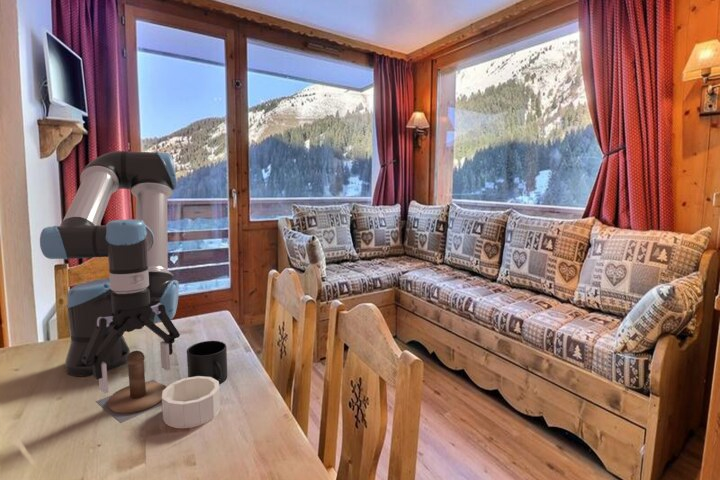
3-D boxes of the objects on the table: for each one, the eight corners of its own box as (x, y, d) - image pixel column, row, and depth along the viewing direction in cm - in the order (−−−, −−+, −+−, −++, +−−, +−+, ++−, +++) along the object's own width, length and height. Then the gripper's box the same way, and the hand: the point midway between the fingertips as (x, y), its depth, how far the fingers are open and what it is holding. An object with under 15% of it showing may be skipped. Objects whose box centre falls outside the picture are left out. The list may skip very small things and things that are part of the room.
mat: (96, 403, 92) (95, 401, 92) (153, 381, 102) (153, 379, 102) (120, 425, 84) (120, 422, 84) (180, 399, 95) (179, 396, 94)
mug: (202, 399, 95) (200, 363, 93) (182, 380, 103) (180, 347, 102) (239, 385, 101) (237, 351, 100) (217, 368, 110) (216, 337, 108)
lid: (99, 401, 92) (94, 352, 90) (152, 380, 102) (149, 336, 100) (122, 420, 85) (117, 368, 83) (176, 397, 94) (174, 349, 93)
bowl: (153, 416, 88) (151, 391, 87) (201, 394, 97) (200, 371, 96) (181, 437, 81) (180, 410, 80) (230, 412, 90) (229, 387, 89)
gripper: (70, 305, 77) (80, 408, 80) (192, 281, 97) (196, 364, 100) (57, 298, 82) (66, 395, 85) (175, 276, 101) (180, 356, 104)
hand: (136, 379), depth 92 cm, fingers open, 13 cm apart
